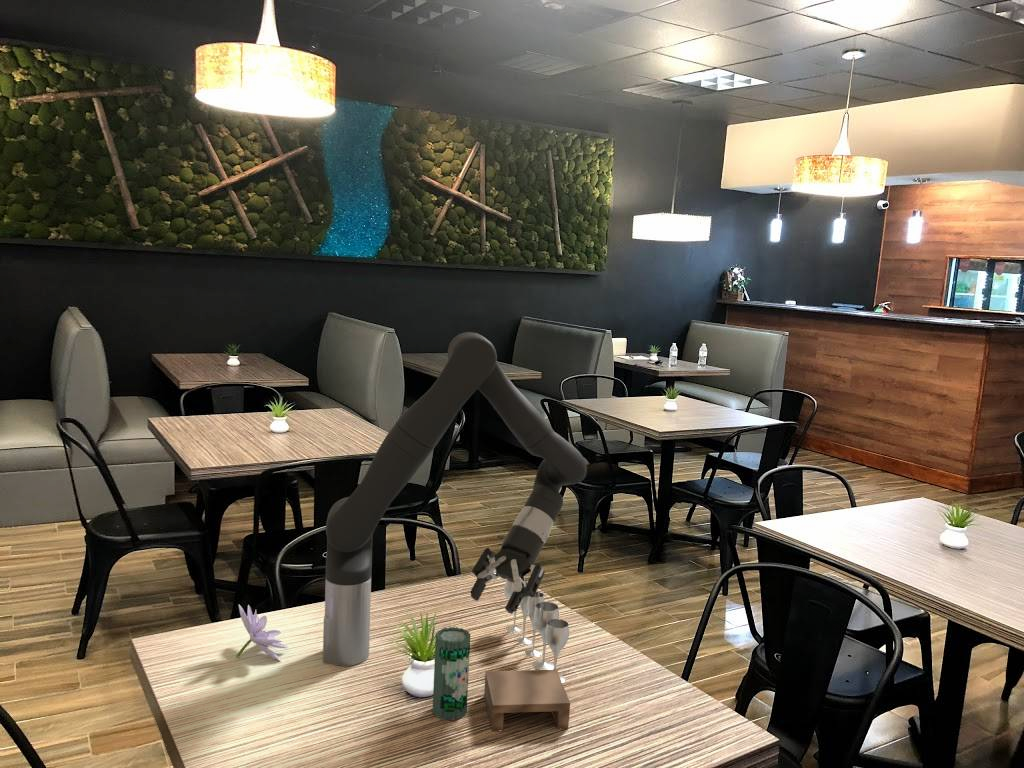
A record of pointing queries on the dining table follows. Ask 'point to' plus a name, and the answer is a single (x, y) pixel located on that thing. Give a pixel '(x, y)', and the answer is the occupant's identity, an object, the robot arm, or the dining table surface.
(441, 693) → the can
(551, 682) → the walnut shelf
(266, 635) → the water lily
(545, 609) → the goblet set
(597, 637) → the dining table surface
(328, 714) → the dining table surface
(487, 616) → the dining table surface
